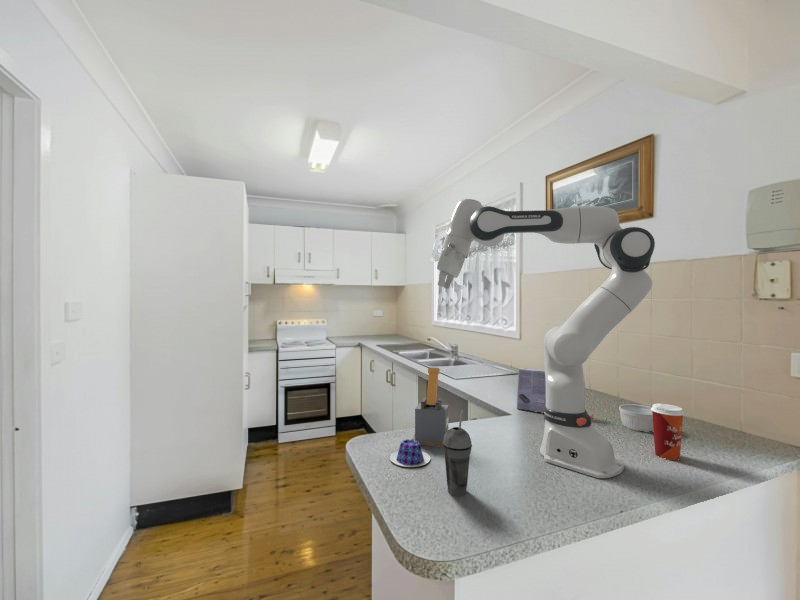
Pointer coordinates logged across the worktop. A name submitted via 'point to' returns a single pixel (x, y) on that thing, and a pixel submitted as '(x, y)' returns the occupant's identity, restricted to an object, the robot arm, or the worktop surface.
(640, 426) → the ramekin
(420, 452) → the pudding
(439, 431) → the box
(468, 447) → the beverage cup
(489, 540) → the worktop surface
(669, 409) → the coffee cup
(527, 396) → the cake pan box
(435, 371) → the lever
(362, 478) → the worktop surface
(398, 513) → the worktop surface
